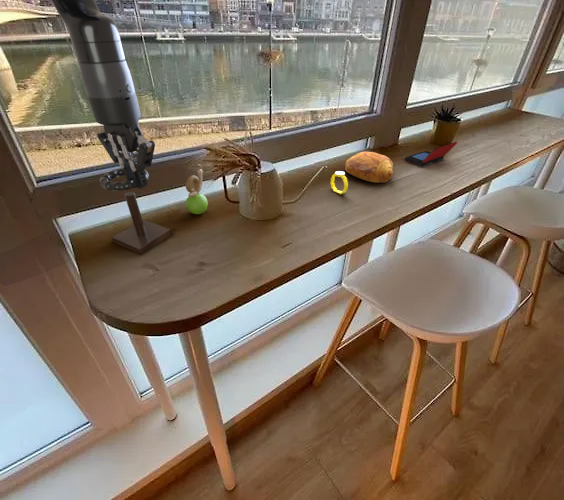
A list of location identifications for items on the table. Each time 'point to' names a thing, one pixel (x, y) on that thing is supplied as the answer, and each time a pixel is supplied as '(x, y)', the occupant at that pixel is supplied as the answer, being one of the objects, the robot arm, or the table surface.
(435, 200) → the table surface
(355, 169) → the bread loaf
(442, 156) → the handheld console
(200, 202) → the snail figurine
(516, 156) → the table surface
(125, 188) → the hang ring
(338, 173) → the gold gemstone ring
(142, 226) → the stand
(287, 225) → the table surface
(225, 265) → the table surface
